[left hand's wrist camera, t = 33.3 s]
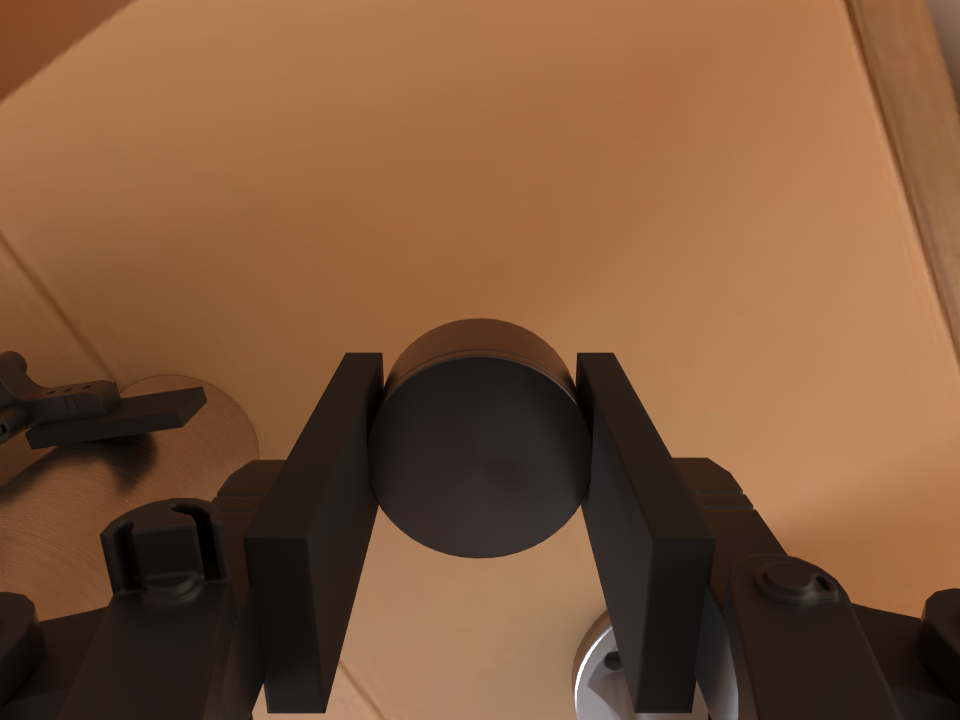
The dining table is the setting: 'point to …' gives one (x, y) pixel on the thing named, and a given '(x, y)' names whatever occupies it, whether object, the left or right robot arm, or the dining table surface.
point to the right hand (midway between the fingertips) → (222, 497)
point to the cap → (479, 441)
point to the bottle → (109, 496)
